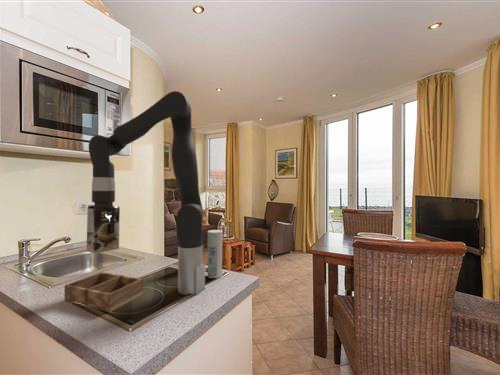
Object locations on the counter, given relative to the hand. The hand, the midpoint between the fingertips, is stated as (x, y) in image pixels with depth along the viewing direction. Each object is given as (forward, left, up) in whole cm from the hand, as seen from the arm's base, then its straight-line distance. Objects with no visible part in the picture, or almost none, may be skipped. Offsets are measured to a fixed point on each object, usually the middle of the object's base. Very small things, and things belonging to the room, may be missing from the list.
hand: (103, 233), depth 92 cm
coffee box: (0, 0, -7) cm, 7 cm away
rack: (-5, +4, -22) cm, 23 cm away
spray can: (-32, -28, -22) cm, 48 cm away
